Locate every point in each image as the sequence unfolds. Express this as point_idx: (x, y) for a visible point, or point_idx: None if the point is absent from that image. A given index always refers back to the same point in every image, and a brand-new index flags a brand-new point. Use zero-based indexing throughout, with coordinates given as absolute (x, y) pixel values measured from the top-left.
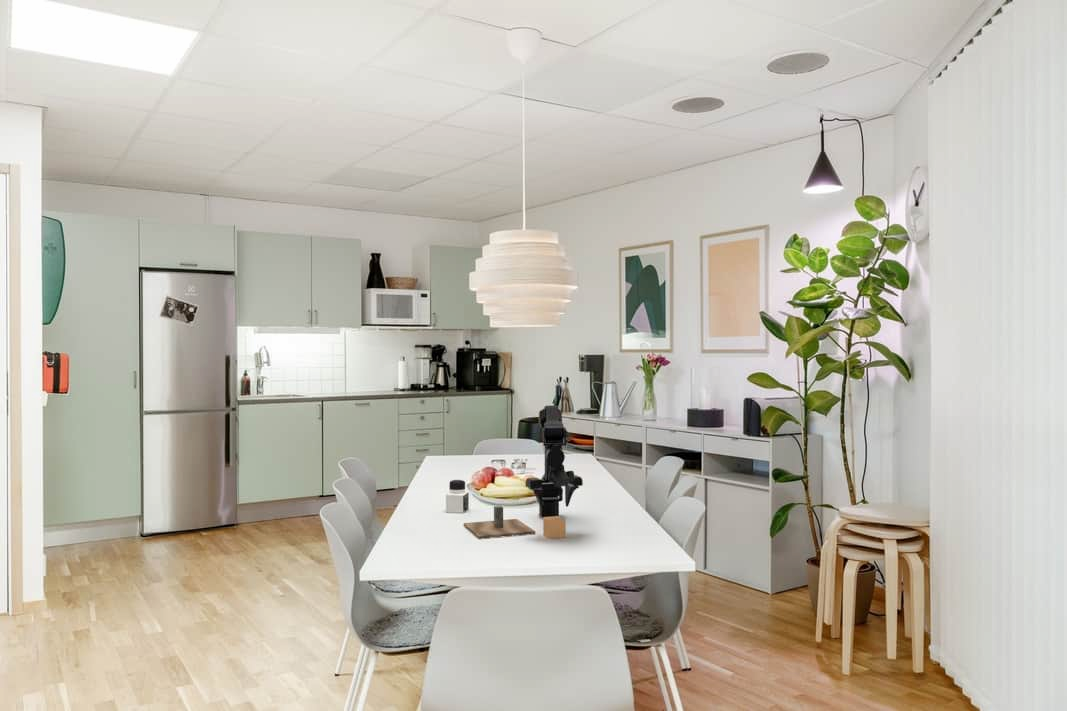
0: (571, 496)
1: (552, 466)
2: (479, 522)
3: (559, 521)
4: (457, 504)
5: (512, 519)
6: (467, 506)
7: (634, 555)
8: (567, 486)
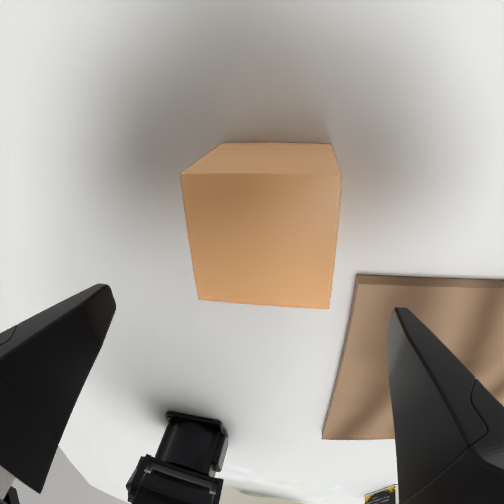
0: (9, 329)
1: None
2: None
3: (239, 168)
4: None
5: (339, 437)
6: (371, 500)
7: None
8: (1, 455)
